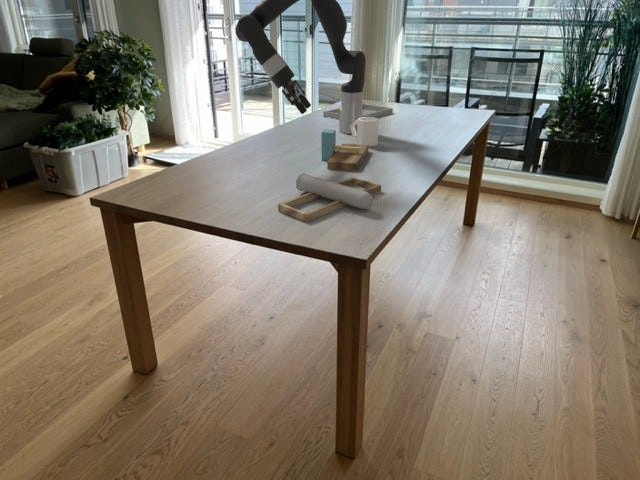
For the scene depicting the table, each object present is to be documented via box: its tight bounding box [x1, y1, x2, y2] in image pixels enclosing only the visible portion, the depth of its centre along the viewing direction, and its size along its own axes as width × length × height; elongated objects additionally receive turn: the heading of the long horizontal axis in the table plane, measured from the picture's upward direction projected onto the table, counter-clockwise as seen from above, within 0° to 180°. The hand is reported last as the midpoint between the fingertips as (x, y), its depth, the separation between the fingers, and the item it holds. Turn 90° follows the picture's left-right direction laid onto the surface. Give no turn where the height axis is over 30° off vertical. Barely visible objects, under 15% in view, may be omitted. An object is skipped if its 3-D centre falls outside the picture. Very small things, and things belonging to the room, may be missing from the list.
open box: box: [326, 143, 369, 172], centre depth 172 cm, size 10×24×3 cm, turn 165°
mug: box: [350, 117, 380, 147], centre depth 190 cm, size 12×9×10 cm
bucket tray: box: [322, 103, 394, 120], centre depth 241 cm, size 21×29×2 cm
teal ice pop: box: [320, 128, 360, 162], centre depth 171 cm, size 14×5×10 cm, turn 75°
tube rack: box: [277, 176, 382, 223], centre depth 136 cm, size 11×31×2 cm, turn 135°
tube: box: [295, 172, 373, 210], centre depth 135 cm, size 5×5×25 cm
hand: (306, 109), depth 168 cm, fingers open, 8 cm apart
